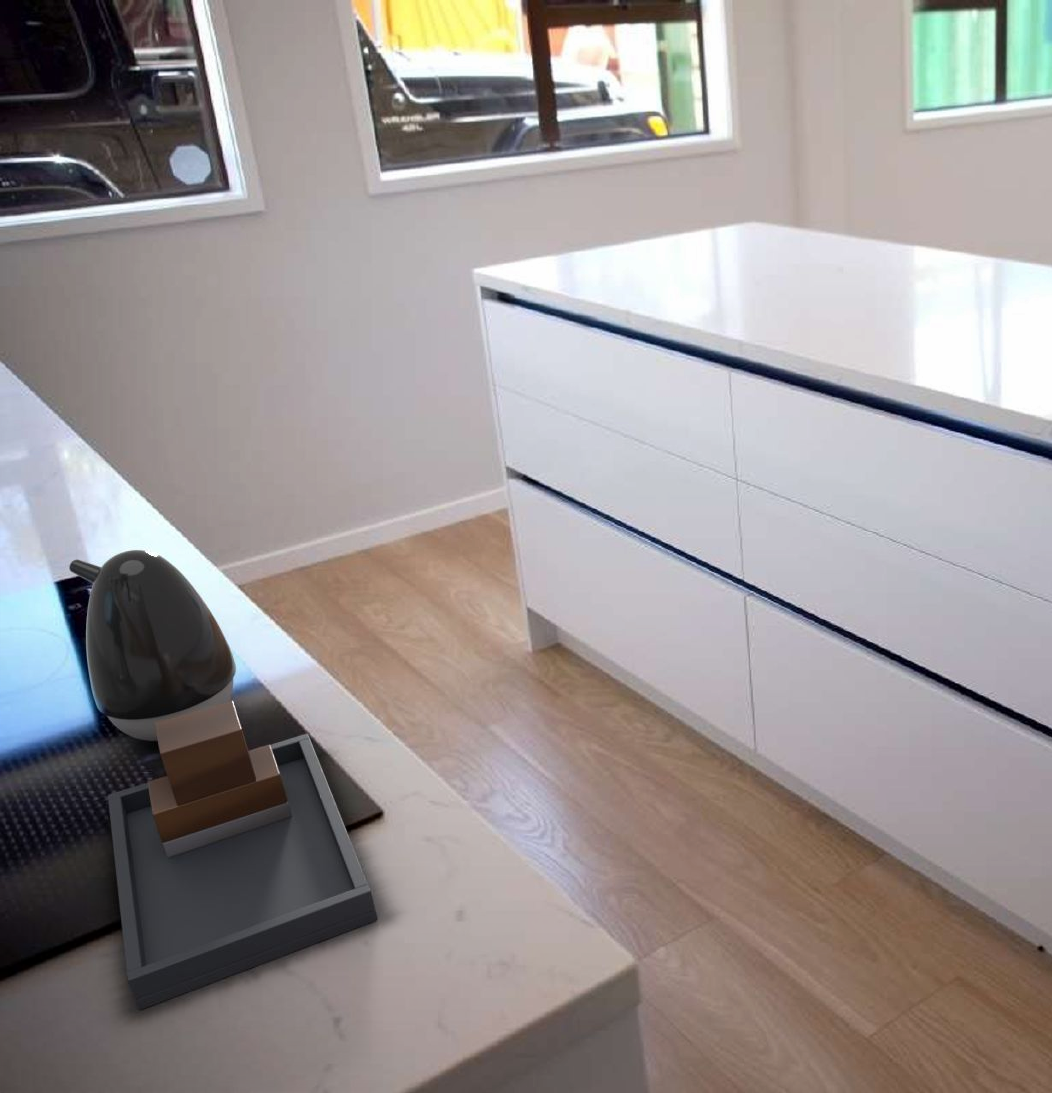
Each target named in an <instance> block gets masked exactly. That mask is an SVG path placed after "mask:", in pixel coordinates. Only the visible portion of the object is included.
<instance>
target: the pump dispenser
mask: <svg viewBox="0 0 1052 1093" xmlns="http://www.w3.org/2000/svg"><path fill="white" fill-rule="evenodd" d="M68 567H69V571H70V572H71V573H72V574H75V575H76V576H77V577H80V578H82V579H84V580H86V581H88V582H90V583H92V586H91V589H90V593H89V599H88V605H87V614H86V615H87V616H86V630H85V636H86V637H85V644H86V645H85V646H86V647H85V648H86V660H87V668H88V669H87V670H88V675H89V676H88V677H89V680H90V687H91V691H92V695H93V699H94V702H95V705H96V708H97V709H98V711H99V712H100V713H102V714H103V715H104V716H106V717H107V718H108V720H109V721H110V723H112V725H114V726H115V727H116V728H117V729H118V730H120V731H121V732H122V733H124V734H126V735H127V736H130V737H132V738H134V739H138V740H141V741H148V742H158V739H157V734H156V728H155V723H157V722H160V721H164V720H167V719H171V718H174V717H178V716H181V715H185V714H188V713H191V712H195V711H198V710H202V709H205V708H209V707H212V706H216V705H219V704H223V703H226V702H230V701H231V697H232V694H233V690H234V678H235V676H236V672H237V665H236V662H235V658H234V655H233V652H232V650H231V647H230V645H229V643H228V641H227V638H226V636H225V635H224V633H223V631H222V629H221V627H220V625H219V623H218V621H217V620H216V617H215V616H214V615H213V613H212V611H211V610H210V608H209V607H208V605H207V604H206V602H205V600H204V599H203V598H202V596H201V595H200V593H199V592H198V591H197V590H196V588H195V587H194V586H193V585H192V583H191V582H190V581H189V580H188V579H187V578H186V576H185V575H184V574H183V573H182V572H181V571H180V569H178V568H177V567H176V566H175V565H173V564H172V563H171V562H170V561H169V560H167V559H166V558H164V557H163V556H161V555H159V554H157V553H155V552H152V551H149V550H144V549H132V550H131V549H130V550H126V551H123V552H120V553H117V554H116V555H114V556H111V557H110V558H109V559H108V560H107V561H105V562H104V563H103V564H102V566H99V565H95V564H93V563H90V562H87V561H84V560H81V559H74V560H72V561H71V562H70V564H69V566H68Z"/></svg>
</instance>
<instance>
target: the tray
mask: <svg viewBox="0 0 1052 1093" xmlns="http://www.w3.org/2000/svg"><path fill="white" fill-rule="evenodd" d="M270 745H271V748H272V751H273V754H274V757H275V760H276V763H277V766H278V769H279V772H280V775H281V778H282V782H283V785H284V789H285V793H286V796H287V800H288V803H289V807H290V810H291V814H292V816H291V817H289V818H286V819H283V820H280V821H277V822H274V823H271V824H268V825H265V826H262V827H259V828H256V829H253V830H250V831H247V832H244V833H241V834H238V835H235V836H232V837H229V838H226V839H223V840H220V841H217V842H214V843H211V844H208V845H205V846H202V847H199V848H196V849H193V850H190V851H187V852H184V853H181V854H178V855H175V856H172V857H169V858H168V857H167V856H166V853H165V850H164V847H163V843H162V841H161V838H160V835H159V832H158V829H157V826H156V823H155V820H154V817H153V813H152V807H151V801H150V794H149V788H148V782H146V783H141V784H139V785H135V786H133V787H129V788H126V789H122V790H119V791H116V792H112V793H109V794H108V795H107V802H108V810H109V819H110V821H109V822H110V829H111V830H110V831H111V838H112V847H113V858H114V865H115V877H116V884H117V885H116V886H117V895H118V903H119V913H120V923H121V931H122V941H123V951H124V960H125V968H126V970H125V971H126V978H127V980H126V981H127V983H128V985H129V988H130V991H131V994H132V996H133V999H134V1002H135V1004H136V1007H137V1009H138V1011H142V1010H143V1009H146V1008H150V1007H152V1006H154V1005H155V1006H156V1005H157V1004H160V1003H162V1002H164V1001H168V1000H170V999H173V998H176V997H178V996H180V995H183V994H186V993H189V992H191V991H194V990H196V989H199V988H202V987H205V986H207V985H211V984H213V983H215V982H218V981H221V980H222V979H226V978H228V977H231V976H233V975H236V974H239V973H242V972H245V971H247V970H249V969H252V968H254V967H258V966H260V965H262V964H265V963H268V962H270V961H273V960H276V959H278V958H281V957H285V956H286V955H289V954H291V953H294V952H296V951H299V950H303V949H304V948H307V947H310V946H313V945H315V944H318V943H321V942H323V941H326V940H328V939H331V938H333V937H336V936H338V935H342V934H344V933H347V932H349V931H352V930H354V929H357V928H360V927H362V926H365V925H368V924H370V923H373V922H376V921H378V920H379V917H378V914H377V910H376V906H375V902H374V899H373V898H374V897H373V895H372V894H373V893H372V891H371V888H370V886H369V882H368V881H367V880H368V879H367V878H366V875H365V873H364V871H363V868H362V866H361V863H360V860H359V858H358V856H357V852H356V850H355V848H354V846H353V843H352V840H351V838H350V834H348V830H347V828H346V826H345V823H344V821H343V818H342V816H341V812H340V810H339V807H338V805H337V803H336V801H335V798H334V796H333V793H332V790H331V788H330V785H329V784H328V781H327V778H326V775H325V773H324V771H323V767H322V765H321V762H320V760H319V757H318V755H317V753H316V751H315V747H314V744H313V743H312V741H311V737H310V735H309V733H304V734H301V735H299V736H295V737H292V738H288V739H285V740H282V741H278V742H276V743H272V744H270Z"/></svg>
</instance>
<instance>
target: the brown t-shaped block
mask: <svg viewBox="0 0 1052 1093" xmlns="http://www.w3.org/2000/svg"><path fill="white" fill-rule="evenodd" d="M155 728H156V734H157V739H158V741H157V744H158V749H159V750H158V751H159V755H160V758H161V761H162V764H163V767H164V770H165V773H166V776H161V777H159V778H155V779H152V780H149V781H147V783H148V788H149V794H150V801H151V807H152V813H153V817H154V820H155V823H156V826H157V829H158V832H159V835H160V838H161V841H162V843H163V847H164V850H165V853H166V856H167V857H168V858H169V857H172V856H175V855H178V854H181V853H184V852H187V851H190V850H193V849H196V848H199V847H202V846H205V845H208V844H211V843H214V842H217V841H220V840H223V839H226V838H229V837H232V836H235V835H238V834H241V833H244V832H247V831H250V830H253V829H256V828H259V827H262V826H265V825H268V824H271V823H274V822H277V821H280V820H283V819H286V818H289V817H291V816H292V814H291V810H290V807H289V803H288V800H287V796H286V793H285V789H284V785H283V782H282V778H281V775H280V772H279V769H278V766H277V763H276V760H275V757H274V754H273V751H272V748H271V745H272V744H267V745H263V746H260V747H257V748H253V749H250V750H249V748H248V745H247V742H246V739H245V735H244V731H243V727H242V725H241V722H240V718H239V715H238V711H237V708H236V705H235V702H234V700H229V702H226V703H223V704H219V705H216V706H212V707H209V708H205V709H202V710H198V711H195V712H191V713H188V714H185V715H181V716H178V717H174V718H171V719H167V720H164V721H160V722H157V723H155Z"/></svg>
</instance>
